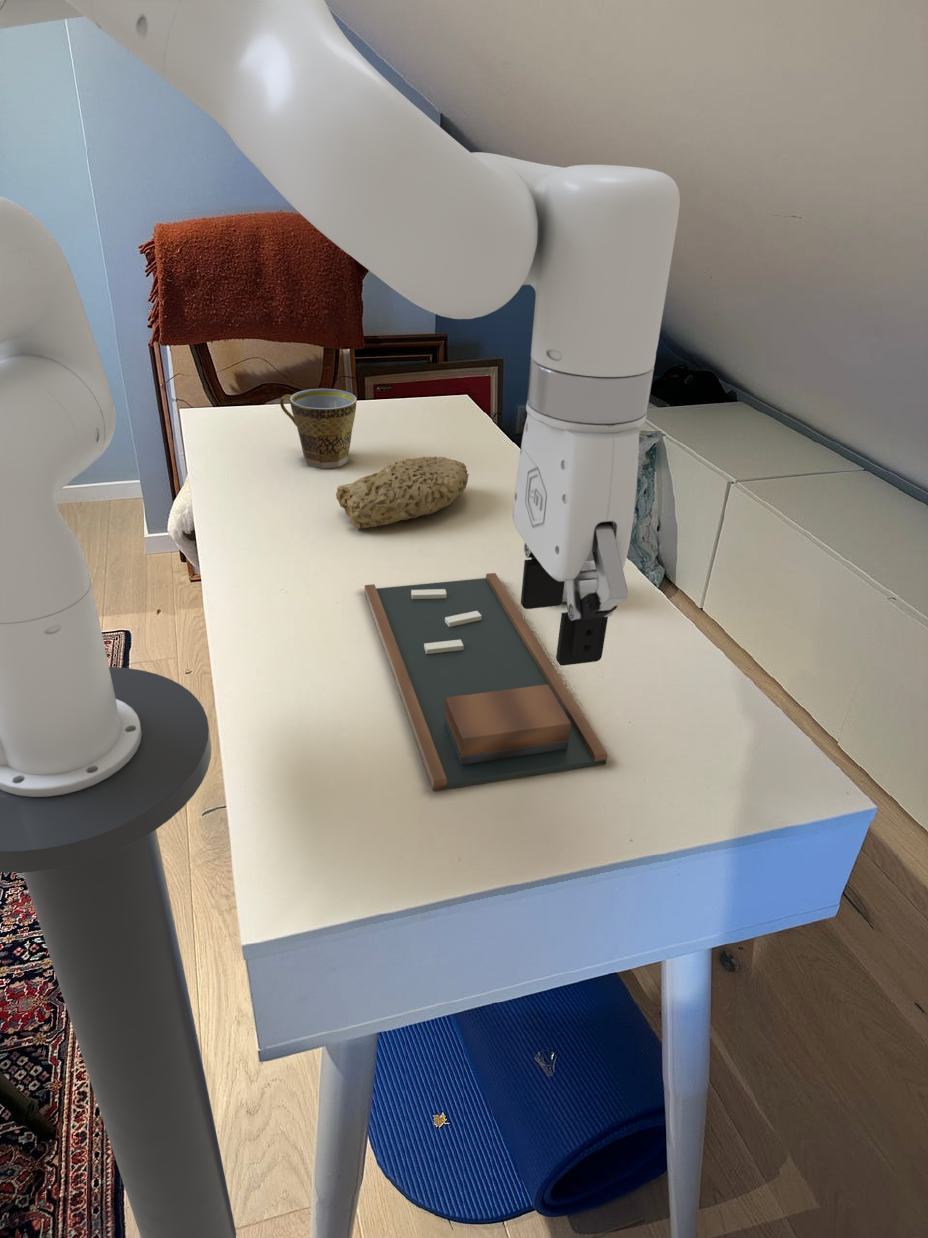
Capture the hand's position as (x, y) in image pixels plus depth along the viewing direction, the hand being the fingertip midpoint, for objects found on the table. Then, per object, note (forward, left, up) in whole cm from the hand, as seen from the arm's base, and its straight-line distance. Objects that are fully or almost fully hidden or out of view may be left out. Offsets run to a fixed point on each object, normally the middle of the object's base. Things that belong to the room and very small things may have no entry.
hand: (559, 630), depth 63 cm
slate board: (0, +21, -18) cm, 27 cm away
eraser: (0, +9, -17) cm, 19 cm away
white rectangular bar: (-1, +35, -17) cm, 39 cm away
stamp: (+16, +33, -18) cm, 41 cm away
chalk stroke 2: (-2, +24, -17) cm, 30 cm away
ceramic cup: (-8, +81, -18) cm, 83 cm away
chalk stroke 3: (+1, +29, -17) cm, 34 cm away
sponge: (+2, +60, -18) cm, 63 cm away
